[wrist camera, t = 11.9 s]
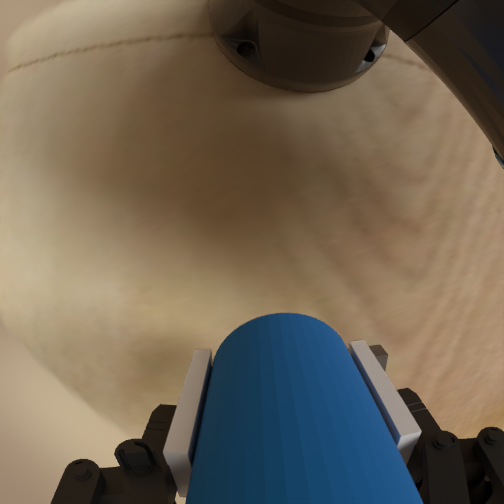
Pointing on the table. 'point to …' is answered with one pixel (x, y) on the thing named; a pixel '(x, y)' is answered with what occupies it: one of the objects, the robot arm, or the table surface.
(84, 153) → the table surface
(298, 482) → the beverage can
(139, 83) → the table surface
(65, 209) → the table surface
